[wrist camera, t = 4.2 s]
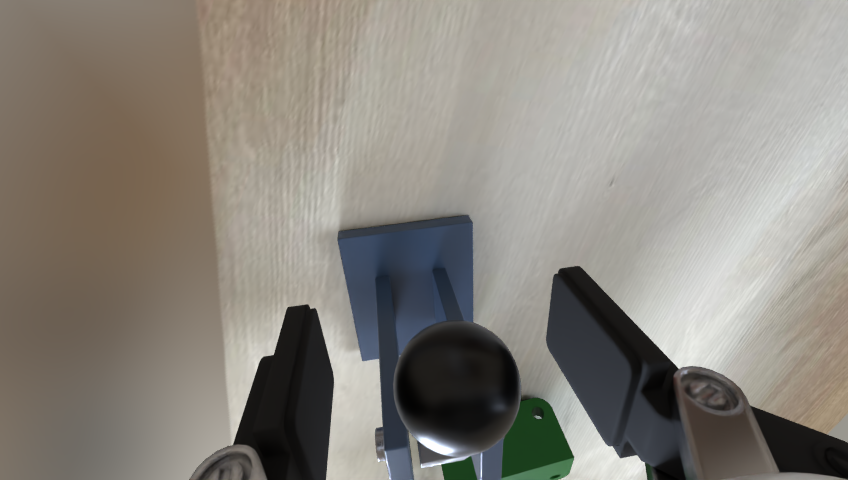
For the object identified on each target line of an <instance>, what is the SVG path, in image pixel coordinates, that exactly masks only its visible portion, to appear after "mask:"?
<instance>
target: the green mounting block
mask: <svg viewBox="0 0 848 480" xmlns="http://www.w3.org/2000/svg"><path fill="white" fill-rule="evenodd" d="M535 415H537V416H540V417H541V418H542V419H536V418H534V417H533V416H535ZM573 460H574V456H573V454H572V451H571V449H570V447H569V445H568V442H567V440H566V438H565V436H564V434H563V431H562V429H561V427H560V425H559V422H558V420H557V418H556V416H555V414H554V411H553V409H552V407H551V406H550V404H549V403H548V402H546V401H545V400H543V399H540V398H532V399H528V400H525V401H521V402H520V406H519V410H518V413H517V416H516V419H515V421H514V423H513V425H512V426H511V428H510V430H509V431H508V433H507V434H506V435H505V438H504V439H503V456H502V474H501V480H559V479H561V478H563V477H565V476H567V475H568V474H569V473H570V470H571V466H572V463H573ZM441 466H442V471H443V475H444V480H477V476H476V472H475V468H474V464H473V461H472V457H471V456H469V457H468V458H466V459H465V460H461V461H456V462H451V463H445V464H441Z"/></svg>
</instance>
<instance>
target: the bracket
mask: <svg viewBox="0 0 848 480" xmlns="http://www.w3.org/2000/svg"><path fill="white" fill-rule="evenodd" d="M338 244H339V249H340V254H341V259H342V264H343V269H344V274H345V279H346V284H347V288H348V293H349V298H350V303H351V308H352V313H353V318H354V323H355V328H356V333H357V338H358V342H359V347H360V352H361V357H362V361H367V360H373V359H379V364H380V383H381V402H382V421H383V427H379V428H376V429H375V443H376V453H377V458H378V461H385V460H386V463H387V468H388V473H389V478H390V480H414V475H413V467H412V458H411V450H410V441H409V433H408V430H407V428H406V427H405V425H404V423H403V422H402V420H401V418H400V416H399V413H398V411H397V407H396V404H395V399H394V389H393V383H394V373H395V369H396V365H397V362H398V359H399V357H400V356H399V355H401V353H402V351H403V350H404V348H405V347H406V345H407V344H408V343H409V341H410V340H411V339H412V338H413V337H414V336H415V335H416V334H418V333H419V332H420V331H421V330H423V329H425V328H426V327H428V326H430V325H432V324H435V323H438V322H442V321H447V320H463V321H469V322H472V323H473V222H472V220H471V219H470V217H469V215H465V216H457V217H449V218H441V219H433V220H425V221H417V222H409V223H401V224H393V225H385V226H377V227H369V228H361V229H353V230H345V231H339V232H338ZM504 438H505V436H504V437H503V438H502V439H501V440H500V441H499V442H498V443H497V444H496V445H494V446H493V447H491V448H490V449H488V450H486V451H484V452H481V453H479V454H476V455H472V456H471V457H472V461H473V464H474V468H475V472H476V476H477V480H501V474H502V456H503V439H504Z"/></svg>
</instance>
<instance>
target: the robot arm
mask: <svg viewBox="0 0 848 480" xmlns="http://www.w3.org/2000/svg"><path fill="white" fill-rule="evenodd" d="M546 342H547V346H548V349H549V351H550V352H551V354H552V356H553V357H554V359H555V361H556V362H557V364H558V366H559V367H560V369H561V371H562V372H563V374H564V376H565V377H566V379H567V381H568V382H569V384H570V386H571V387H572V389H573V391H574V392H575V394H576V395H577V397H578V399H579V400H580V402H581V404H582V405H583V407H584V409H585V410H586V412H587V414H588V415H589V417H590V419H591V420H592V422H593V424H594V425H595V427H596V429H597V430H598V432H599V434H600V435H601V437H602V439H603V440H604V442H605V443H606V444H607V445H608V446H613V448H614V449H615V451H616V452H617V454H618V456H619V457H620V458H624V457H629V456H634V455H638V456H639V458H640V459H641V461H643V462H645V466H646V473H647V480H848V443H847V442H845V441H843V440H840V439H837V438H834V437H832V436H829V435H827V434H824V433H821V432H819V431H816V430H813V429H811V428H808V427H805V426H803V425H800V424H797V423H795V422H792V421H790V420H787V419H784V418H782V417H779V416H776V415H774V414H771V413H768V412H766V411H763V410H760V409H758V408H755V407H752V406H750V405H749V402H748V400H747V398H746V396H745V395H744V393H743V392H742V390H741V389H740V388H739V387H738V386H737V385H736V384H735V383H734V382H733V381H731V380H730V379H728V378H727V377H725V376H724V375H722V374H719V373H717V372H715V371H713V370H710V369H706V368H703V367H695V366H689V367H682V368H681V369H678V368H677V367H676V365H675V364H674V363H673V362H672V361H671V360H670V359H669V358H668V357H667V356H666V355H665V354H664V353H663V352H662V351H661V350H660V349H659V348H658V347H657V346H656V345H655V344H654V343H653V342H652V341H651V340H650V338H649V337H648V336H647V335H646V334H645V333H644V332H643V331H642V330H641V329H640V328H639V327H638V326H637V325H636V324H635V323H634V322H633V321H632V320H631V319H630V318H629V317H628V316H627V315H626V314H625V312H624V311H623V310H622V309H621V308H620V307H619V306H618V305H617V304H616V303H615V302H614V301H613V300H612V299H611V298H610V297H609V296H608V295H607V294H606V293H605V292H604V291H603V290H602V289H601V288H600V287H599V286H598V284H597V283H596V282H595V281H594V280H593V279H592V278H591V277H590V276H589V275H588V274H587V273H586V272H585V271H584V270H583V269H582V268H581V267H579V266H575V267H568V268H561V269H560V270H559V271H558V274H555V275H554V277H553V284H552V293H551V301H550V310H549V318H548V327H547V335H546ZM333 388H334V377H333V371H332V367H331V363H330V359H329V356H328V352H327V348H326V344H325V340H324V336H323V332H322V329H321V325H320V321H319V317H318V313H317V310H316V309H315V308H314V309H310V307H309V305H300V306H293V307H288V308H287V310H286V314H285V318H284V321H283V325H282V328H281V332H280V335H279V339H278V342H277V346H276V349H275V353H274V355H272V356H265V357H263V358H262V359H261V361H260V363H259V366H258V369H257V372H256V375H255V378H254V381H253V384H252V387H251V391H250V394H249V397H248V400H247V403H246V406H245V409H244V412H243V416H242V419H241V422H240V425H239V428H238V431H237V434H236V437H235V441H234V444H233V445H232V446H227V447H225V448H223V449H221V450H219V451H216V452H215V453H214V454H212V455H211V456H210V457H208V458H206V459H205V460H204V461H203V462H202V463H201V464H200V465H199V466H198V467H197V469H196V470H195V472H194V473H193V475H192V476H191V478H190V479H189V480H326V472H327V460H328V448H329V436H330V424H331V412H332V400H333Z"/></svg>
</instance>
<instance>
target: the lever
mask: <svg viewBox="0 0 848 480" xmlns="http://www.w3.org/2000/svg"><path fill="white" fill-rule="evenodd" d="M393 389H394V399H395V404H396V407H397V411H398V413H399V416H400V418H401V420H402V422H403V423H404V425H405V427H406V428H407V430H408V431H409V432H410V433H411V434H412V436H413V437H414V438H415V439H416V440H417V443H418V450H419V458H420V465H421V468H424V467H429V466H435V465H440V464H445V463H451V462H456V461H461V460H465V459H466V458H468V457H469V456H472V455H476V454H479V453H481V452H484V451H486V450H488V449H490V448H491V447H493V446H494V445H496V444H497V443H498V442H499V441H500V440H501V439H502V438H503V437H504V436H505V435H506V434H507V433H508V431H509V430H510V428H511V426H512V425H513V423H514V421H515V419H516V416H517V413H518V410H519V406H520V400H521V380H520V375H519V371H518V368H517V365H516V362H515V360H514V358H513V356H512V354H511V352H510V351H509V349H508V348H507V346H506V345H505V344H504V343H503V342H502V341H501V339H499V338H498V337H497V336H496V335H495V334H494V333H493V332H491V331H489V330H488V329H486V328H485V327H483V326H480V325H478V324H476V323H472V322H469V321H463V320H447V321H442V322H438V323H435V324H432V325H430V326H428V327H426V328H425V329H423V330H421V331H420V332H419V333H418V334H416V335H415V336H414V337H413V338H412V339H411V340H410V341H409V343H408V344H407V345H406V347H405V348H404V350H403V351H402V353H401V355H400V357H399V359H398V362H397V365H396V369H395V373H394V383H393Z"/></svg>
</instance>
